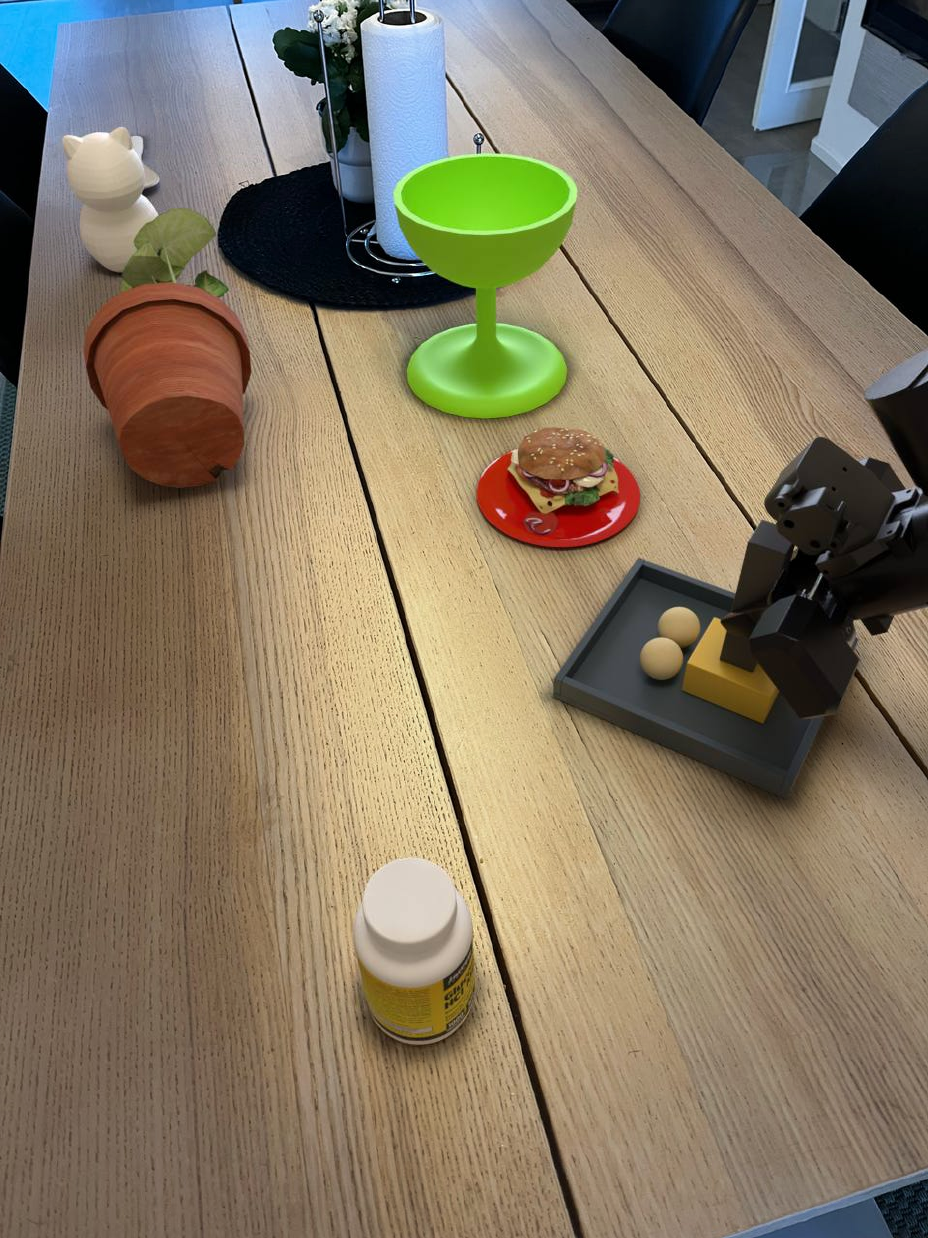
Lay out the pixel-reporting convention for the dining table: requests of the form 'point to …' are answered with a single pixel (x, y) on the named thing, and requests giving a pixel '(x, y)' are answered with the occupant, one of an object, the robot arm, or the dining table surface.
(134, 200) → the cat figurine
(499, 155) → the wineglass
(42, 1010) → the dining table surface
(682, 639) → the crumb
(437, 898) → the pill bottle
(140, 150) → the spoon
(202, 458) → the potted plant
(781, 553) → the grey and yellow block
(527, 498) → the hamburger
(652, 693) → the tray
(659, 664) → the crumb
